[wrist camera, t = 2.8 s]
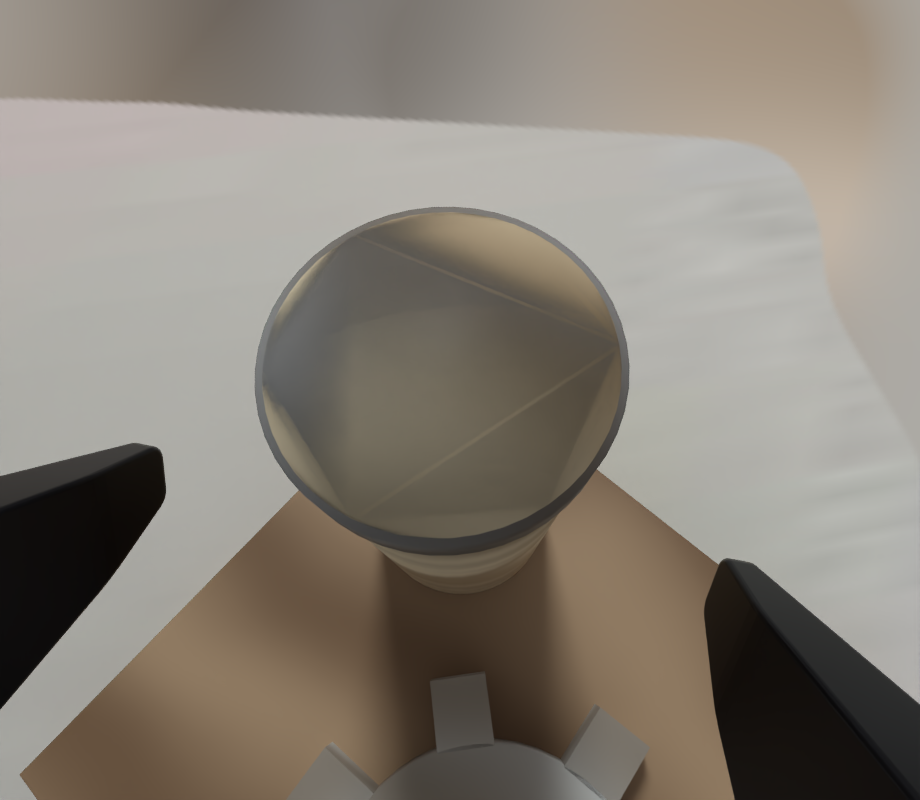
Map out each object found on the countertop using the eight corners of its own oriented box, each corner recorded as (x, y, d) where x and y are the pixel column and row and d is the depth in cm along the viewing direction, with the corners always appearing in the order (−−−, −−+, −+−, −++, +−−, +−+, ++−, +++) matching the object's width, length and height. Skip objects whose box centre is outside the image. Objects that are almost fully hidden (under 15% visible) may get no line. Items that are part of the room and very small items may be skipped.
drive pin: (470, 638, 16) (457, 641, 7) (340, 516, 17) (177, 376, 8) (582, 499, 17) (704, 337, 8) (454, 396, 18) (429, 154, 9)
